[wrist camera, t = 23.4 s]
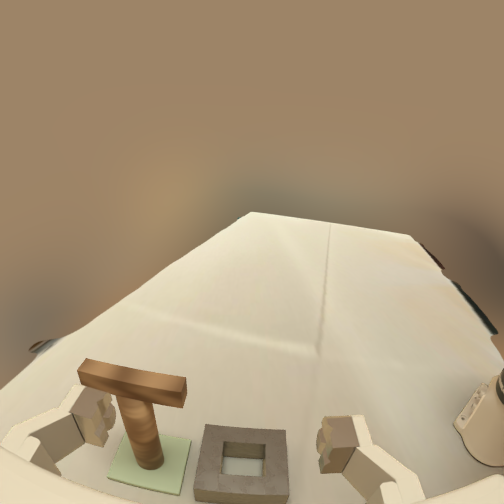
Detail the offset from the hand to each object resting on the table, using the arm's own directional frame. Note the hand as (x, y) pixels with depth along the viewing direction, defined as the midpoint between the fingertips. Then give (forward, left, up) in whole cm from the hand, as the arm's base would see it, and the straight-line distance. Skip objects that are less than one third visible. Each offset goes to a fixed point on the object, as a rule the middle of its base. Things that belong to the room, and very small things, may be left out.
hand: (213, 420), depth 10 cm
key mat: (-3, -18, -30) cm, 35 cm away
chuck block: (-12, -9, -30) cm, 34 cm away
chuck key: (-3, -18, -29) cm, 35 cm away
